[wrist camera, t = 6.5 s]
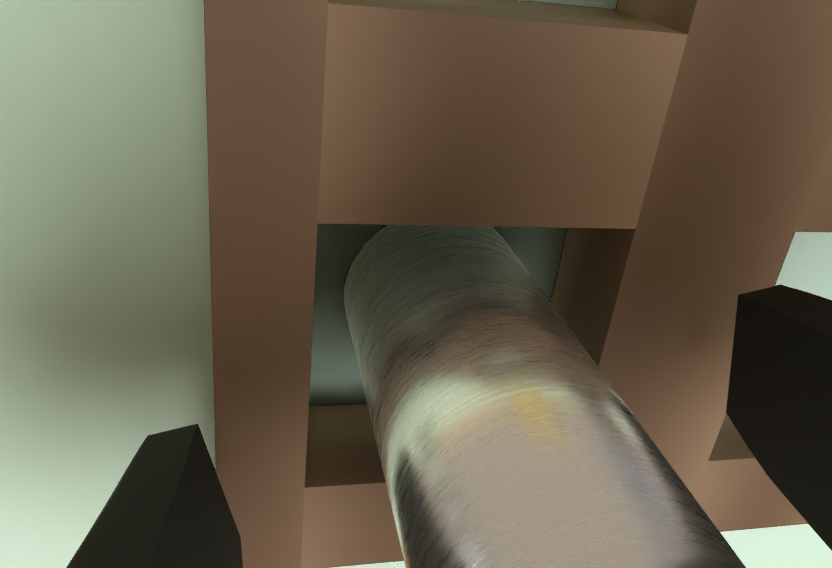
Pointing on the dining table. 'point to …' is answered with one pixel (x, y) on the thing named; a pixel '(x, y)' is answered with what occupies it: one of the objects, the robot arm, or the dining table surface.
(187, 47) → the dining table surface
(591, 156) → the wooden grid tray
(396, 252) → the small grey canister
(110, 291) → the dining table surface
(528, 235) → the dining table surface
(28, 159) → the dining table surface
